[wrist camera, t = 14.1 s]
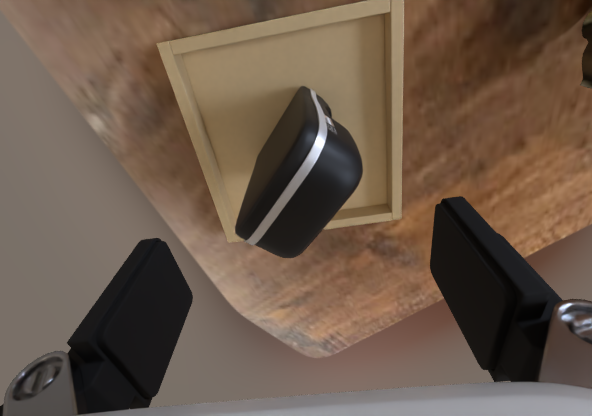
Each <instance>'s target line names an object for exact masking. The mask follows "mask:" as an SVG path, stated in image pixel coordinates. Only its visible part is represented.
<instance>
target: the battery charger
mask: <svg viewBox="0 0 592 416" xmlns="http://www.w3.org/2000/svg"><path fill="white" fill-rule="evenodd" d="M362 174H363V166H362V158H361V155H360V153H359V150H358V147H357V145H356V143H355V141H354V139H353V137H352V136H351V134H350V133H349V131H348V130H347V129H346V128H345V127H343V126H342V125H341V124H340V123H338V122H337V121H335V120H334V119H332V113H331V109H330V107H329V105H328V104H327V103H326V102H325V101H324V100H323V98H321V97H320V96H319V95H317V94H316V92H315V91H314V90H312V89H311V88H310V89H309V88H307V87H305V86H301V87H300V88H299V89H298V91H297V92H296V94H295V95H294V97H293V99H292V100H291V102H290V104H289V105H288V107H287V108H286V110H285V112H284V113H283V115H282V117H281V118H280V120H279V121H278V123H277V125H276V126H275V128H274V130H273V131H272V133H271V135H270V136H269V138H268V139H267V141H266V143H265V144H264V146H263V148H262V149H261V151H260V153H259V154H258V156H257V159H256V163H255V166H254V169H253V172H252V175H251V178H250V181H249V184H248V187H247V190H246V193H245V196H244V199H243V202H242V205H241V208H240V211H239V215H238V218H237V221H236V225H235V233H236V234H237V236H239V237H240V238H242V239H244V242H246V243H248V244H250V245H256V246H258V247H260V248H262V249H265V250H267V251H269V252H271V253H273V254H275V255H277V256H280V257H283V258H294V257H296V256H298V255H300V254H301V253H302V252H303V251H304V250H305V249H306V248H307V247H308V246H309V245H310V244H311V242H312V241H313V240H314V239H315V238H316V237H317V236H318V234H319V233H320V232H321V231H322V230H323V229H324V227H325V226H326V225H327V224H328V223H329V222H330V220H331V219H332V218H333V217H334V216H335V214H336V213H337V212H338V211H339V210H340V208H341V207H342V206H343V205H344V204H345V202H346V201H347V200H348V199H349V198H350V196H351V195H352V194H353V193H354V191H355V190H356V188H357V187H358V185H359V183H360V180H361V178H362Z"/></svg>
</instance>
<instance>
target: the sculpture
mask: <svg viewBox="0 0 592 416" xmlns="http://www.w3.org/2000/svg"><path fill="white" fill-rule="evenodd" d="M582 35H583V37H584V38H586V39H587V40H588V44H587V46H586V49H585V51H584V53H583V57H582V71H583V80H582V82H581V84H580V85H582V86H585V87H588V88H592V11H591V12H590V13H589V14H588V16H587V17H586V18H585V20H584V22H583V27H582Z"/></svg>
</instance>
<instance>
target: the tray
mask: <svg viewBox="0 0 592 416" xmlns="http://www.w3.org/2000/svg"><path fill="white" fill-rule="evenodd" d="M157 47H158V50H159V52H160V55H161V58H162V61H163V63H164V66H165V69H166V72H167V74H168V77H169V80H170V83H171V85H172V88H173V91H174V94H175V97H176V99H177V102H178V105H179V108H180V110H181V113H182V116H183V119H184V121H185V124H186V127H187V130H188V133H189V135H190V138H191V141H192V144H193V146H194V149H195V152H196V155H197V157H198V160H199V163H200V166H201V168H202V171H203V174H204V177H205V180H206V182H207V185H208V188H209V191H210V193H211V196H212V199H213V202H214V204H215V207H216V210H217V213H218V215H219V218H220V221H221V224H222V227H223V229H224V232H225V235H226V238H227V240H228V243H230V242H237V241H244V239H242V238H240V237H239V236H237V234H236V233H235V225H236V221H237V218H238V215H239V211H240V208H241V205H242V202H243V199H244V196H245V193H246V190H247V187H248V184H249V181H250V178H251V175H252V172H253V169H254V166H255V163H256V159H257V156H258V154H259V153H260V151H261V149H262V148H263V146H264V144H265V143H266V141H267V139H268V138H269V136H270V135H271V133H272V131H273V130H274V128H275V126H276V125H277V123H278V121H279V120H280V118H281V117H282V115H283V113H284V112H285V110H286V108H287V107H288V105H289V104H290V102H291V100H292V99H293V97H294V95H295V94H296V92H297V91H298V89H299V88H300V87H301V86H305V87H307V88H309V89H310V88H311V89H312V90H314V91H315V92H316V94H317V95H319V96H320V97H321V98H323V100H324V101H325V102H326V103H327V104H328V105H329V107H330V109H331V113H332V119H334V120H335V121H337V122H338V123H340V124H341V125H342V126H343V127H345V128H346V129H347V130H348V131H349V133H350V134H351V136H352V137H353V139H354V141H355V143H356V145H357V147H358V150H359V153H360V155H361V158H362V166H363V174H362V178H361V180H360V183H359V185H358V187H357V188H356V190H355V191H354V193H353V194H352V195H351V196H350V198H349V199H348V200H347V201H346V202H345V204H344V205H343V206H342V207H341V208H340V210H339V211H338V212H337V213H336V214H335V216H334V217H333V218H332V219H331V220H330V222H329V223H328V224H327V225H326V226H325V227H324V229H323V230H325V229H332V228H339V227H347V226H354V225H361V224H368V223H376V222H383V221H390V220H396V219H401V203H402V127H403V50H404V0H367V1H362V2H357V3H352V4H347V5H342V6H338V7H333V8H328V9H323V10H318V11H313V12H308V13H303V14H298V15H293V16H289V17H284V18H279V19H274V20H269V21H264V22H259V23H254V24H249V25H244V26H239V27H235V28H230V29H225V30H220V31H215V32H210V33H205V34H200V35H195V36H190V37H186V38H181V39H176V40H171V41H166V42H161V43H157Z"/></svg>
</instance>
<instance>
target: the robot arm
mask: <svg viewBox="0 0 592 416" xmlns="http://www.w3.org/2000/svg"><path fill="white" fill-rule="evenodd" d="M430 269H431V273H432V275H433V277H434V279H435V281H436V283H437V285H438V287H439V289H440V291H441V293H442V295H443V297H444V299H445V300H446V302H447V304H448V306H449V308H450V310H451V312H452V314H453V316H454V318H455V320H456V321H457V323H458V325H459V327H460V329H461V331H462V333H463V335H464V337H465V339H466V340H467V343H468V345H469V346H470V348H471V350H472V352H473V354H474V356H475V358H476V360H477V362H478V364H479V365H480V367H481V368H482V369H483V370H488V371H489V373H490V375H491V376H492V378H493V380H494V382H489V383H470V384H452V385H434V386H419V387H406V388H392V389H379V390H366V391H353V392H352V391H351V392H337V393H325V394H311V395H298V396H287V397H286V396H285V397H273V398H260V399H247V400H235V401H222V402H211V403H198V404H186V405H175V406H163V407H151V408H149V405H150V403H151V400H152V397H154V396H156V394H157V393H158V391H159V388H160V386H161V383H162V380H163V378H164V375H165V373H166V370H167V367H168V365H169V362H170V359H171V357H172V354H173V351H174V349H175V346H176V343H177V341H178V338H179V335H180V333H181V330H182V328H183V325H184V322H185V320H186V317H187V314H188V312H189V309H190V306H191V304H192V299H193V296H192V292H191V290H190V288H189V286H188V284H187V282H186V280H185V278H184V276H183V274H182V272H181V270H180V269H179V267H178V265H177V263H176V261H175V259H174V257H173V255H172V253H171V251H170V249H169V247H168V245H167V244H166V242H164V241H161V239H159V238H153V239H145V240H141V241H140V242H139V243H138V244H137V246H136V247H135V249H134V250H133V251H132V253H131V254H130V255H129V257H128V258H127V260H126V261H125V262H124V264H123V265H122V267H121V268H120V269H119V271H118V272H117V274H116V275H115V276H114V278H113V279H112V281H111V282H110V283H109V285H108V286H107V287H106V289H105V290H104V292H103V293H102V295H101V296H100V297H99V299H98V300H97V301H96V303H95V304H94V306H93V307H92V308H91V310H90V311H89V313H88V314H87V315H86V317H85V318H84V320H83V321H82V322H81V324H80V325H79V327H78V328H77V329H76V331H75V332H74V334H73V335H72V336H71V338H70V339H69V341H68V342H67V343H68V345H69V346H70V347H71V349H70V351H69V352H68V353H65V352H63V351H54V352H51V353H48V354H45V355H43V356H41V357H39V358H37V359H36V360H35V361H33V362H32V363H30V364H29V365H27V366H26V367H25V368H24V369H23V370H22V371H21V372H20V373H19V374H18V375H17V376H16V377H15V378H14V379H13V381H12V382H11V383H10V385H9V387H8V389H7V391H6V393H5V397H4V404H3V405H2V406H0V416H592V302H591V301H587V300H581V299H570V300H562V299H561V298H560V297H559V296H558V295H557V294H556V293H555V291H554V290H553V289H552V288H551V287H550V286H549V285H548V284H547V283H546V282H545V281H544V280H543V279H542V278H541V277H540V275H538V273H537V272H536V271H535V270H534V269H533V268H532V267H531V266H530V265H529V264H528V263H527V262H526V261H525V260H524V258H523V257H522V256H521V255H520V254H519V253H518V252H517V251H516V250H515V249H514V248H513V247H512V246H511V245H510V244H509V242H508V241H507V240H506V239H505V238H504V237H503V236H501V235H500V234H498V233H496V232H495V231H494V230H493V229H492V228H491V227H490V225H489V224H488V223H487V222H486V221H485V220H484V219H483V218H482V217H481V216H480V215H479V214H478V212H477V211H476V210H475V209H474V208H473V207H472V206H471V205H470V204H469V203H468V202H467V201H466V199H465V198H463V197H461V196H460V197H452V198H445V199H442V201H441V204H437V205H436V207H435V216H434V227H433V238H432V248H431V259H430ZM500 381H511V382H500ZM129 408H130V409H129Z"/></svg>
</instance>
